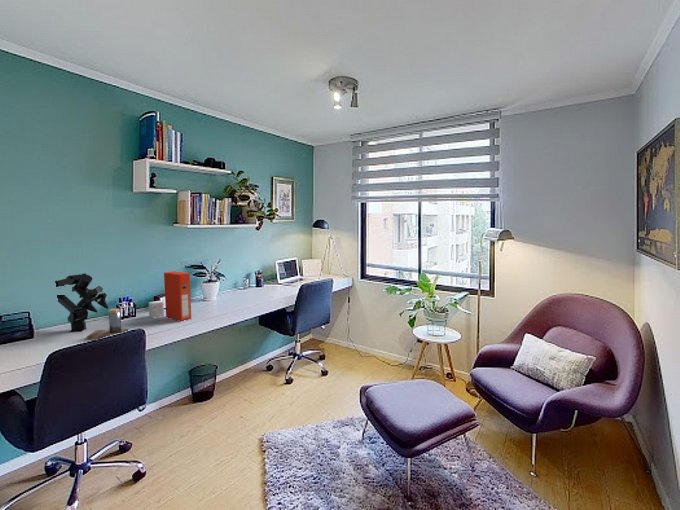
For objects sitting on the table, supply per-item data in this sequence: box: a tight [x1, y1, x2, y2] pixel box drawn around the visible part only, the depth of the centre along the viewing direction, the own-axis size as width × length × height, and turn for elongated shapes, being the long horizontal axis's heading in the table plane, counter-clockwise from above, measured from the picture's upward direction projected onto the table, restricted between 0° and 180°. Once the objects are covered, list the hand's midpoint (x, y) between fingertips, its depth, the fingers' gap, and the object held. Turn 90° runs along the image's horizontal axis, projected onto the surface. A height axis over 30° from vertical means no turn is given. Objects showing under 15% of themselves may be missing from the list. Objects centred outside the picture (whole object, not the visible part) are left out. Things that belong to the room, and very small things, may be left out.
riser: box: [86, 328, 130, 340], centre depth 213 cm, size 18×11×2 cm, turn 102°
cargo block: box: [108, 308, 120, 314], centre depth 213 cm, size 4×4×2 cm
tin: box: [108, 310, 123, 334], centre depth 213 cm, size 6×6×12 cm
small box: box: [148, 300, 165, 319], centre depth 254 cm, size 8×6×10 cm
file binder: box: [163, 270, 192, 322], centre depth 249 cm, size 8×17×32 cm, turn 58°
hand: (102, 310), depth 218 cm, fingers open, 9 cm apart
